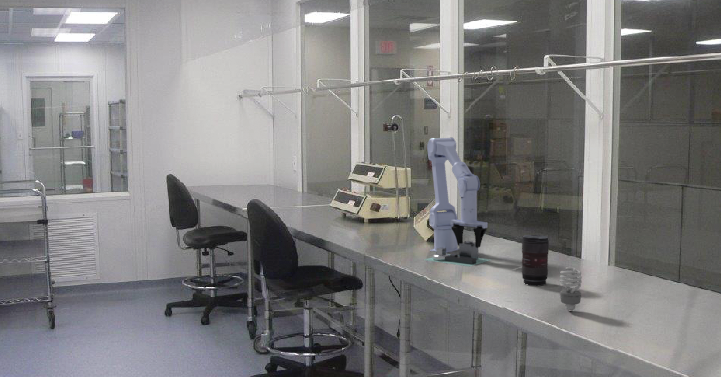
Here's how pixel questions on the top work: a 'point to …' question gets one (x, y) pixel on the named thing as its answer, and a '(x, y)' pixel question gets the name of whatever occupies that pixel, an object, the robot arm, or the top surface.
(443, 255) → the metal vise
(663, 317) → the top surface
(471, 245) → the socket
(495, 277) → the top surface
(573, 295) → the light bulb
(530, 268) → the camera lens
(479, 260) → the mat
